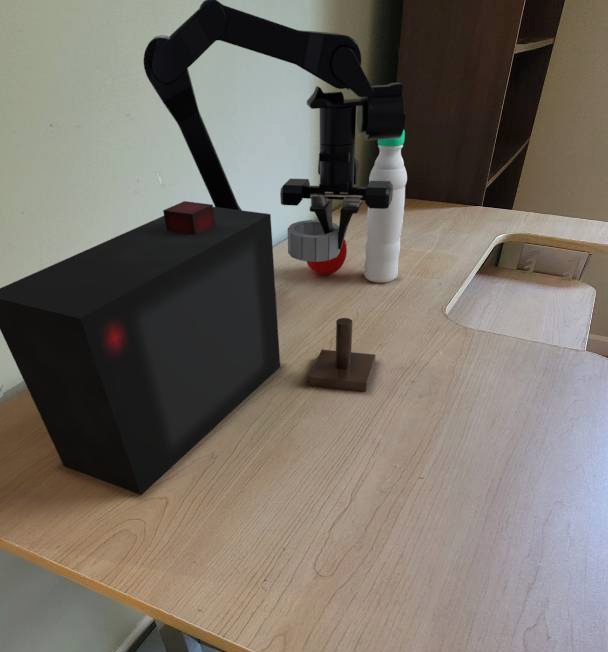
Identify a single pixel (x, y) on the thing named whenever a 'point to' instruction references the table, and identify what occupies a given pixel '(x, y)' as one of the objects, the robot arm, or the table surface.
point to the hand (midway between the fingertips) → (335, 248)
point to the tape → (312, 241)
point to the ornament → (330, 263)
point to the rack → (342, 363)
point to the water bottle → (386, 214)
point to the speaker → (147, 339)
